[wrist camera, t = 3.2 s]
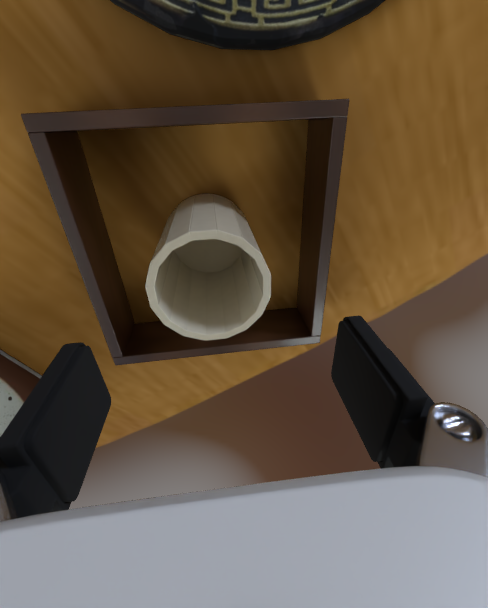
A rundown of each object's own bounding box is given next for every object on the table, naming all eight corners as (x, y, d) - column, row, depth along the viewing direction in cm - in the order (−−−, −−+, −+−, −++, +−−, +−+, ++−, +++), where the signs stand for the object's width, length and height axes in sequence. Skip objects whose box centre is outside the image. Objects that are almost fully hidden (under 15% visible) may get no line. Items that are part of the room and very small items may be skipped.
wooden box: (128, 331, 27) (115, 365, 23) (59, 116, 18) (20, 113, 14) (304, 313, 28) (319, 343, 24) (320, 104, 19) (349, 98, 15)
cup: (174, 277, 24) (159, 345, 17) (158, 196, 21) (132, 236, 13) (250, 270, 25) (270, 334, 17) (247, 190, 21) (271, 225, 14)
